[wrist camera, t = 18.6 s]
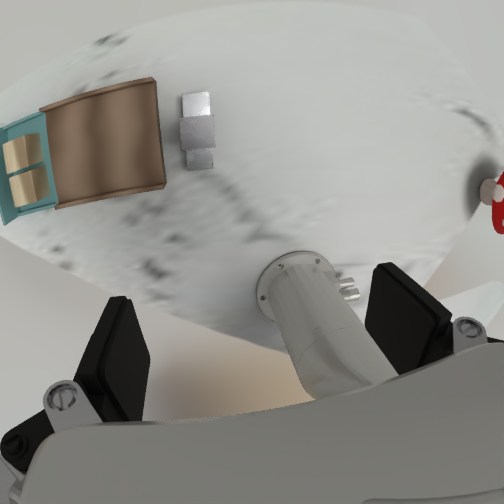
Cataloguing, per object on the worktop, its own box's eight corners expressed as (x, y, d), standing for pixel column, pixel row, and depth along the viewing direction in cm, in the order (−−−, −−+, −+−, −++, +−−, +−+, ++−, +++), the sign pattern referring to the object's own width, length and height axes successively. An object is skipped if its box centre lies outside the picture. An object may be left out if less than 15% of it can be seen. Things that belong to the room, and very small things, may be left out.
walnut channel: (156, 81, 29) (151, 76, 25) (166, 182, 34) (163, 189, 31) (51, 108, 27) (39, 108, 24) (65, 202, 32) (55, 209, 29)
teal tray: (50, 109, 27) (31, 109, 22) (64, 202, 32) (48, 214, 28) (6, 127, 26) (-14, 130, 21) (21, 213, 31) (3, 225, 27)
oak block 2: (30, 170, 26) (8, 177, 25) (37, 201, 27) (15, 207, 27) (45, 164, 29) (24, 171, 29) (50, 193, 31) (29, 199, 30)
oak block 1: (24, 134, 24) (2, 144, 23) (28, 166, 25) (7, 174, 25) (39, 132, 27) (18, 141, 27) (43, 161, 29) (22, 168, 28)
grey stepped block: (208, 94, 31) (211, 82, 22) (212, 165, 34) (217, 180, 25) (183, 96, 30) (177, 85, 21) (188, 167, 34) (184, 183, 25)
